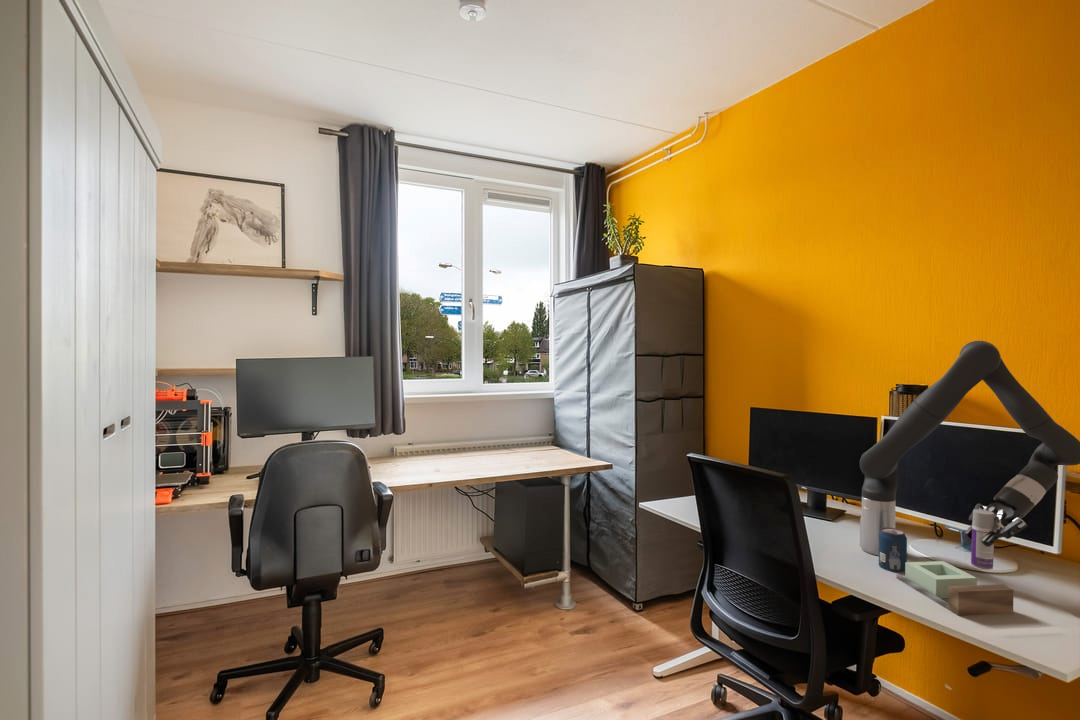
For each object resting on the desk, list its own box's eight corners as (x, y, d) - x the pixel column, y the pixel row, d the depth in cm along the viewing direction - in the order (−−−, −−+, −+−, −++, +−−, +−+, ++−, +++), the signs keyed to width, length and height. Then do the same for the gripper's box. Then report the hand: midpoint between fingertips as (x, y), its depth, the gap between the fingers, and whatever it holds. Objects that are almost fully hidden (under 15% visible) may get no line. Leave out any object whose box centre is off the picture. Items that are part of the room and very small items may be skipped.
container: (971, 561, 153) (972, 507, 152) (993, 565, 150) (994, 511, 149) (970, 566, 149) (972, 512, 148) (993, 571, 146) (994, 515, 145)
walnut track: (896, 581, 154) (896, 557, 154) (943, 580, 155) (944, 555, 155) (963, 623, 131) (964, 594, 131) (1019, 621, 132) (1020, 592, 132)
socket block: (905, 580, 153) (905, 562, 152) (943, 578, 153) (943, 561, 153) (935, 598, 142) (936, 579, 141) (976, 596, 142) (976, 577, 142)
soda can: (893, 565, 165) (894, 526, 165) (912, 575, 158) (913, 534, 158) (873, 567, 164) (873, 527, 164) (891, 577, 157) (891, 535, 157)
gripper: (987, 479, 156) (945, 522, 156) (1036, 493, 142) (990, 541, 141) (1004, 497, 156) (963, 540, 156) (1054, 513, 142) (1008, 560, 142)
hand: (976, 540), depth 149 cm, fingers closed on container, 4 cm apart
